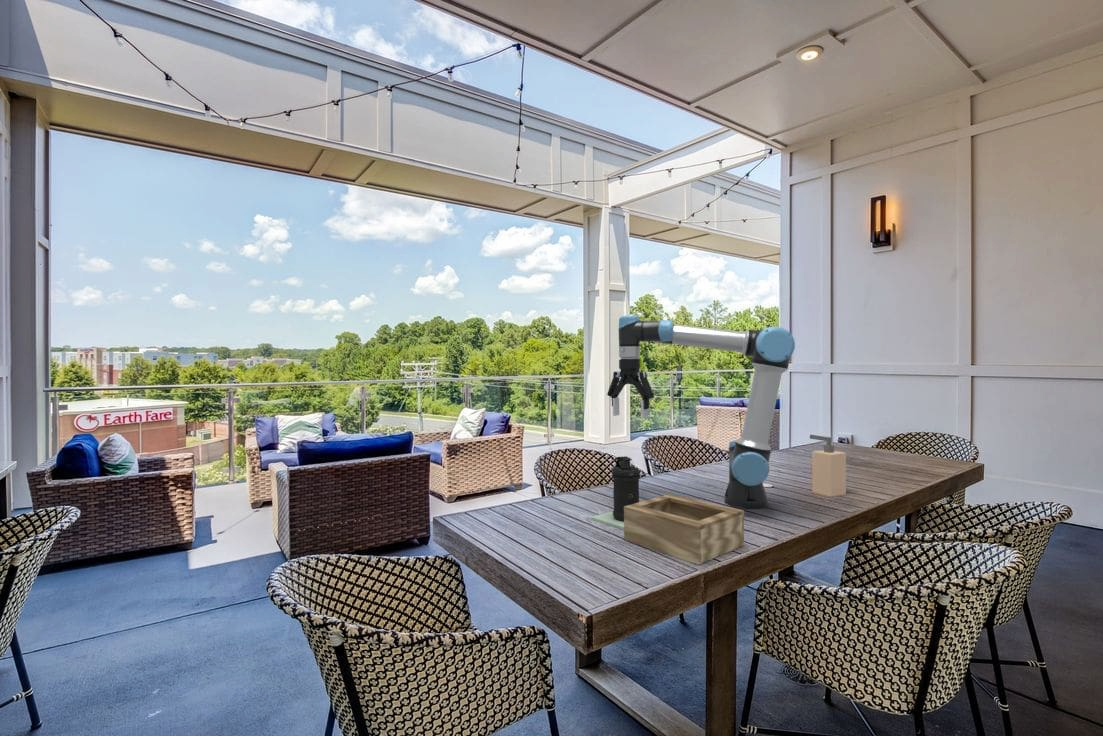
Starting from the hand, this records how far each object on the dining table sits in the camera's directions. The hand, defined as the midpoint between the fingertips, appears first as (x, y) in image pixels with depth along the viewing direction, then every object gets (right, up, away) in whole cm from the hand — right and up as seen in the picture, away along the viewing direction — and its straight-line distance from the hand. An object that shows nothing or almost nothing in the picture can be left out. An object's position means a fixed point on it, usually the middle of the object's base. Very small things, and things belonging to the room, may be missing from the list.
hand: (630, 416), depth 195 cm
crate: (+10, -33, -38) cm, 52 cm away
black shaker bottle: (-4, -32, -16) cm, 36 cm away
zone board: (-4, -33, -16) cm, 37 cm away
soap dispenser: (+80, -32, +18) cm, 88 cm away
